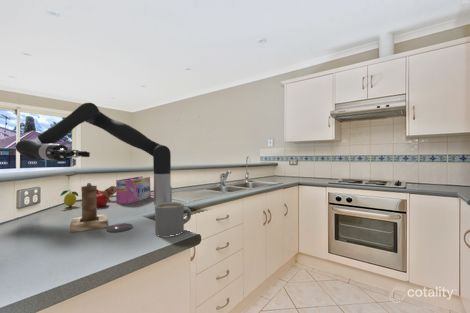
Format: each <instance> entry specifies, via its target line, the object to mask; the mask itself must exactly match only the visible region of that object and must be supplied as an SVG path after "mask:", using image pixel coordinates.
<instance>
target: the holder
mask: <svg viewBox="0 0 470 313" xmlns="http://www.w3.org/2000/svg"><path fill="white" fill-rule="evenodd" d="M107 227H108V218H107V213H104V214H97V220H95V221H87V222H82V216H78V217H72V219H71V222H70V224H69V232H70V233H74V232H82V231H87V230H88V231H89V230H96V229H102V228H107Z"/></svg>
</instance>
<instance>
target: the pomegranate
mask: <svg viewBox="0 0 470 313" xmlns="http://www.w3.org/2000/svg"><path fill="white" fill-rule="evenodd" d="M98 190H99V189H98V188H97V190H96V194H97V208H100V207H101V208H103V207H104V206H106V205H107V204H108V202H109V201H108V198H107V196H106V195H104V194H102V193H103V192H100V193H98ZM104 193H105V192H104Z"/></svg>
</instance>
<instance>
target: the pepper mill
mask: <svg viewBox="0 0 470 313" xmlns="http://www.w3.org/2000/svg"><path fill="white" fill-rule="evenodd" d="M80 188H81V217H82V222H87V221H95V220H97V215H98V211H97V210H98V209H97V208H98V207H97V194H96V190H97V189H98V188H97V185H92V183H91V182H88V183H87V184H86V185H84V186H80Z"/></svg>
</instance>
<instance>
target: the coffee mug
mask: <svg viewBox="0 0 470 313" xmlns="http://www.w3.org/2000/svg"><path fill="white" fill-rule="evenodd" d="M185 213H186V217H185V216H184V214H185ZM184 217H185V218H184ZM191 218H192V210H191V209H190V208H189V207H187V206H185V205H184V203H183V202H179V201H177V202H176V201H172V202H166V203H160V204H157V205H155V204H154V223H155V225H154V228H155V229H154V230H155V232H154V235H155V236H156V235H159V236H170V235H176V234H179V233H181V232H183V230H184V231H185V226H184V225H185V224H186V223H188V222H189V221H190V220H191ZM183 233H184V232H183ZM159 236H158V237H159Z"/></svg>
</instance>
